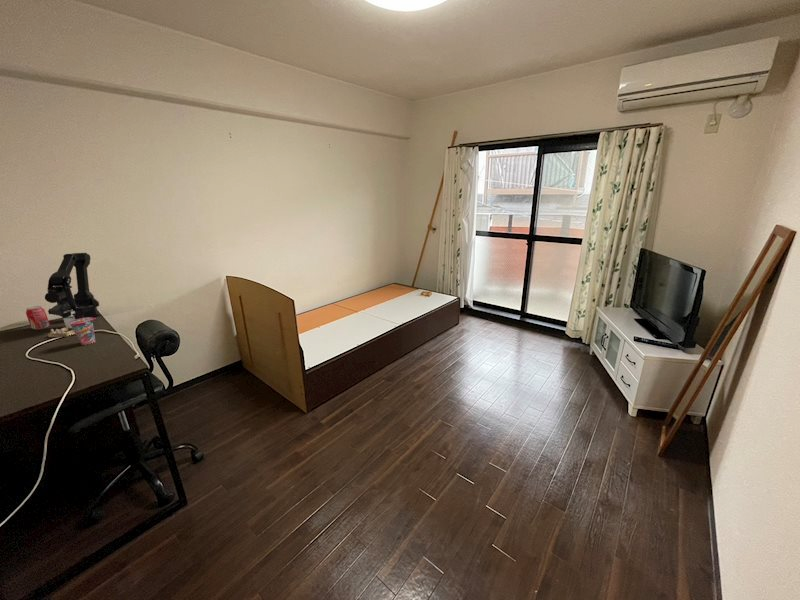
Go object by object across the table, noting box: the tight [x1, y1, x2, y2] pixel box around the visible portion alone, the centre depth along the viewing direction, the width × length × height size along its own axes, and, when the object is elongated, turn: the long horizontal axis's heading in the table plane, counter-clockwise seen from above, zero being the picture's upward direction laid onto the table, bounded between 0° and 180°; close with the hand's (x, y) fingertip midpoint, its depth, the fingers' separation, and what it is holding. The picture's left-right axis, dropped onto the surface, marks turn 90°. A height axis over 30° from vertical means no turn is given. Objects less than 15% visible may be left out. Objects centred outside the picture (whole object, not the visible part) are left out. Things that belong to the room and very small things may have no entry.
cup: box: [69, 317, 97, 346], centre depth 157 cm, size 9×8×12 cm
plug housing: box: [62, 315, 75, 329], centre depth 180 cm, size 6×4×6 cm
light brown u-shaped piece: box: [47, 326, 75, 338], centre depth 170 cm, size 9×9×4 cm
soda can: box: [25, 305, 50, 330], centre depth 178 cm, size 7×7×12 cm
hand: (75, 324), depth 181 cm, fingers closed on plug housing, 4 cm apart
